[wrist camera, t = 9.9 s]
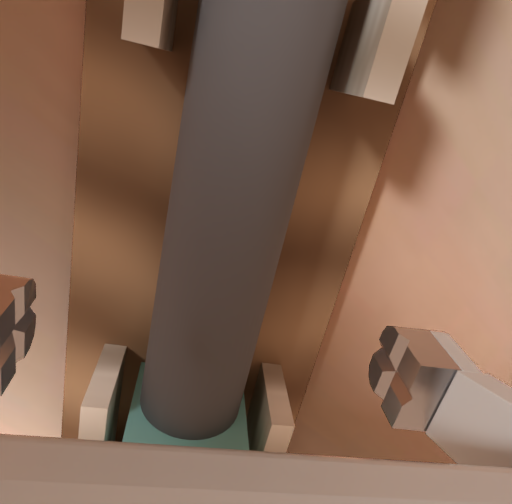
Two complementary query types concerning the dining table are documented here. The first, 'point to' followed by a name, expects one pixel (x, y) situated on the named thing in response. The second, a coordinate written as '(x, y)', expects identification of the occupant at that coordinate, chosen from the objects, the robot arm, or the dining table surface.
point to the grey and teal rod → (229, 211)
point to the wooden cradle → (158, 193)
